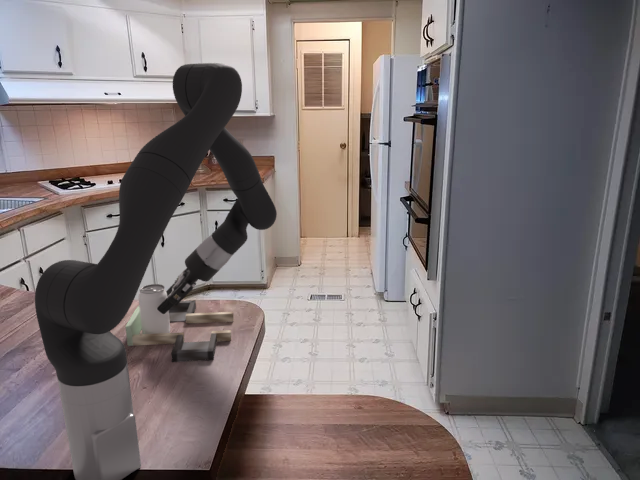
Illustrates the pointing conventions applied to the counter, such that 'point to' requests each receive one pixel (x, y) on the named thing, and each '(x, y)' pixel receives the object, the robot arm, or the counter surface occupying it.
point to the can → (153, 309)
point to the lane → (183, 349)
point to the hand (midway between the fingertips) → (164, 303)
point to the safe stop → (133, 325)
